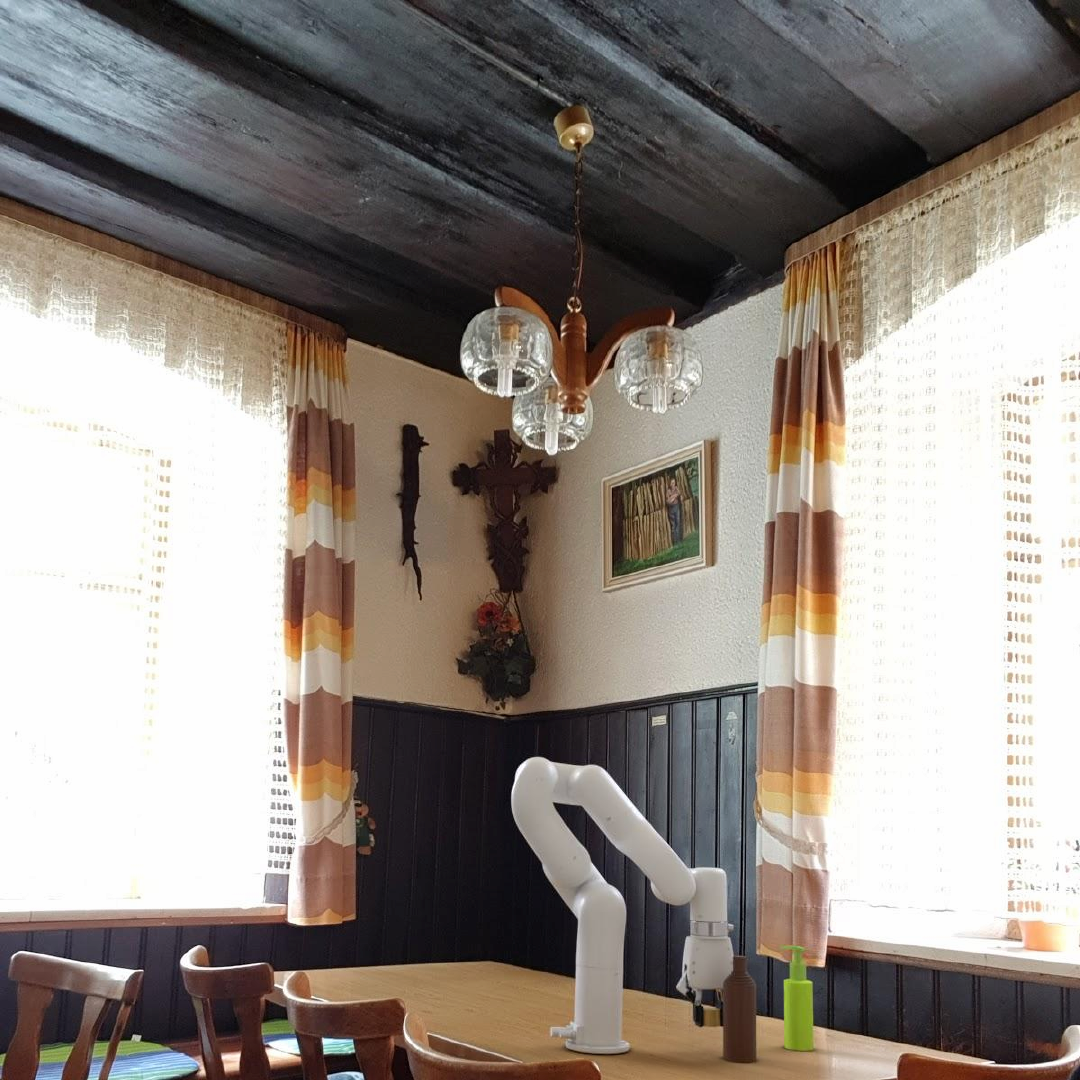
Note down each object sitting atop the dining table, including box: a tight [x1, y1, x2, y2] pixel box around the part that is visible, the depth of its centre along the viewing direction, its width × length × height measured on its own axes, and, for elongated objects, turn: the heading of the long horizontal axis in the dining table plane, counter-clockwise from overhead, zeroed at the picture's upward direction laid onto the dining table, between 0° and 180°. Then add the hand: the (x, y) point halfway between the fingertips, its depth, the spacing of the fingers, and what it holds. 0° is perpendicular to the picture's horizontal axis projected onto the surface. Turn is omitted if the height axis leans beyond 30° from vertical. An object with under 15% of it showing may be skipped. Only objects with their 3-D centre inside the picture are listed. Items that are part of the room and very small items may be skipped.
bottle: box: [722, 955, 757, 1064], centre depth 231 cm, size 6×6×19 cm
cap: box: [703, 1007, 721, 1028], centre depth 236 cm, size 4×4×3 cm
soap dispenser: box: [778, 944, 815, 1052], centre depth 246 cm, size 6×7×20 cm
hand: (709, 1024), depth 236 cm, fingers closed on cap, 3 cm apart
